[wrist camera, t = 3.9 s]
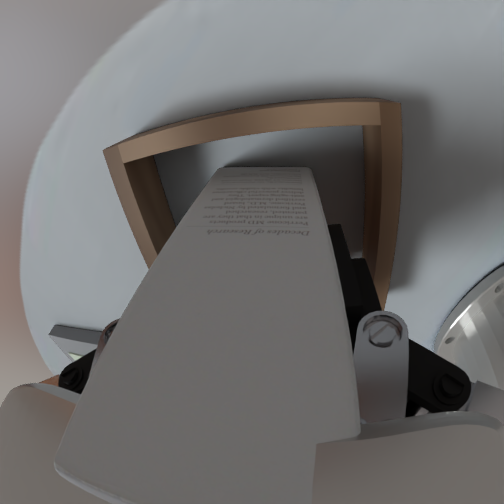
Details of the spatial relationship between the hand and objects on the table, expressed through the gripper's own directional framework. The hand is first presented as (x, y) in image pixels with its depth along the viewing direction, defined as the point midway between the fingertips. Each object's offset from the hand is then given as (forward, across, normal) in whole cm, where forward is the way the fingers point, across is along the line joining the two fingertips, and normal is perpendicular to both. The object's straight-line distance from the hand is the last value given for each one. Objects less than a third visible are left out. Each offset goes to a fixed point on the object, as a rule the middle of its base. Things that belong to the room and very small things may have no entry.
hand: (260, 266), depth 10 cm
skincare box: (+4, 0, 0) cm, 4 cm away
